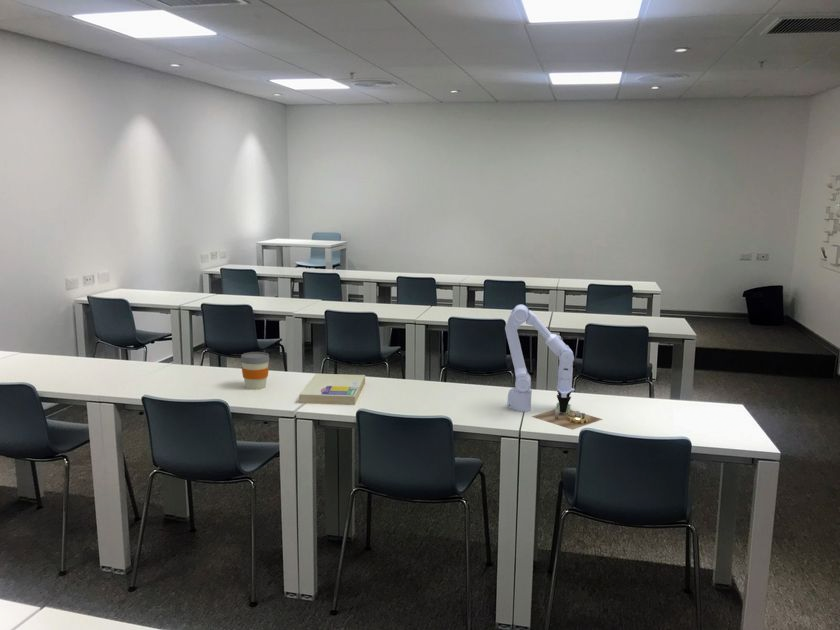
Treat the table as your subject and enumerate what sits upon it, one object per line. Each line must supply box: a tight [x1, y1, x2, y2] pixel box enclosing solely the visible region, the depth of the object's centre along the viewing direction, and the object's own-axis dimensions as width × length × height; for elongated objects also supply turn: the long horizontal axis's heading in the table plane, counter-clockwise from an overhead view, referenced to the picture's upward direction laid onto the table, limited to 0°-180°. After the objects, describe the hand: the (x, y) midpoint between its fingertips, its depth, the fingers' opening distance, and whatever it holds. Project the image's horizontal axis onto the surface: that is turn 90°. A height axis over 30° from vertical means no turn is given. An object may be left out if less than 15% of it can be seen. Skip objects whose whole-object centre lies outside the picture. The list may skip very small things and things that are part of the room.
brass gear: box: [566, 412, 589, 424], centre depth 268 cm, size 9×9×4 cm
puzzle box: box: [299, 373, 366, 406], centre depth 303 cm, size 36×5×24 cm
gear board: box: [531, 408, 603, 430], centre depth 271 cm, size 20×20×5 cm
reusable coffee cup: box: [240, 351, 270, 391], centre depth 309 cm, size 13×13×15 cm
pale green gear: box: [555, 401, 572, 414], centre depth 279 cm, size 6×6×3 cm
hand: (563, 410), depth 279 cm, fingers closed on pale green gear, 6 cm apart
